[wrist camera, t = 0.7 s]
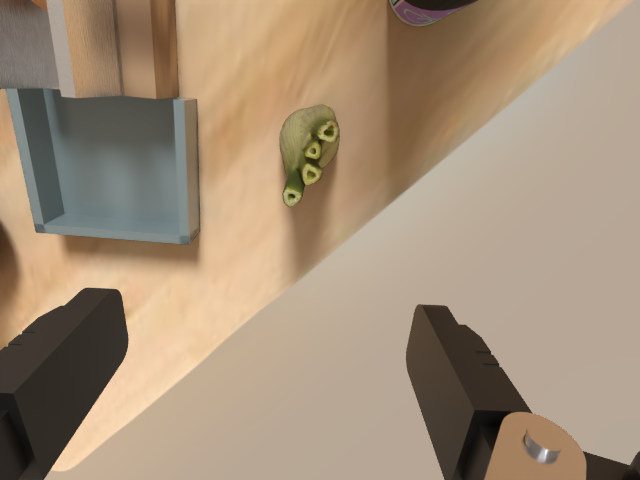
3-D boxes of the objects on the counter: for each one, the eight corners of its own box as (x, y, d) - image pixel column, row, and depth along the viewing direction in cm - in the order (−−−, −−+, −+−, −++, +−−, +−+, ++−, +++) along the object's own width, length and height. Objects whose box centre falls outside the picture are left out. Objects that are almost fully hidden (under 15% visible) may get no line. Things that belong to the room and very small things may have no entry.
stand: (34, -49, 27) (-22, -77, 22) (173, -31, 28) (146, -54, 23) (55, 84, 30) (10, 83, 26) (178, 97, 31) (156, 99, 26)
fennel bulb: (297, 177, 34) (292, 220, 23) (265, 130, 32) (244, 153, 21) (350, 142, 33) (372, 169, 22) (321, 92, 31) (328, 95, 20)
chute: (15, -72, 22) (-80, -123, 17) (110, -59, 23) (46, -106, 17) (43, 87, 26) (-29, 87, 20) (124, 95, 26) (75, 98, 21)
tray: (36, 82, 30) (4, 81, 27) (196, 99, 31) (183, 100, 28) (61, 218, 35) (35, 232, 32) (200, 230, 36) (189, 244, 32)
